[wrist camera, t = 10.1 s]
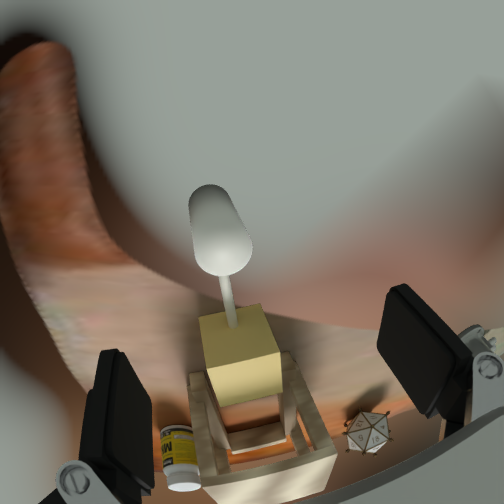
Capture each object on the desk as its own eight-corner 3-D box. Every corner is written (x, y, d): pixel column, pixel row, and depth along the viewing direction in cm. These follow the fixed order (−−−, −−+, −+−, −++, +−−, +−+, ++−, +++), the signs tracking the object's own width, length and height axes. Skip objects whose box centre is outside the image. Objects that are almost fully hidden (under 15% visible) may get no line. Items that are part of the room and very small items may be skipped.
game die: (355, 391, 46) (407, 403, 38) (360, 423, 48) (407, 437, 40) (322, 425, 41) (377, 444, 33) (330, 456, 42) (379, 475, 34)
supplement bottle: (164, 421, 33) (170, 480, 26) (200, 425, 35) (210, 482, 28) (156, 437, 35) (161, 491, 27) (189, 441, 36) (197, 493, 29)
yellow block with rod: (244, 177, 21) (273, 213, 15) (264, 345, 30) (286, 401, 24) (167, 192, 21) (164, 235, 15) (210, 357, 29) (222, 416, 23)
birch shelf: (295, 349, 31) (340, 444, 21) (295, 420, 39) (323, 490, 29) (182, 374, 29) (196, 481, 19) (213, 439, 37) (229, 514, 27)
